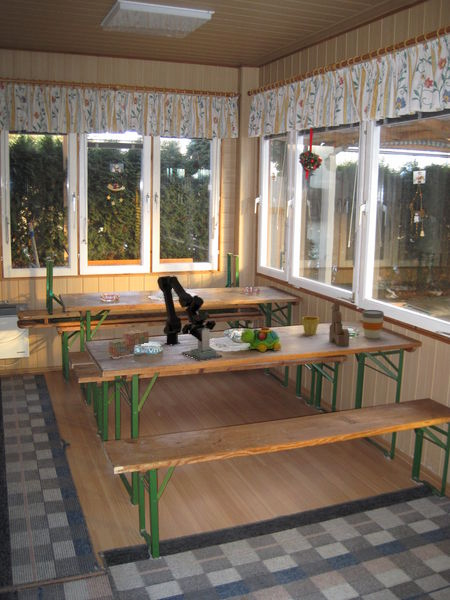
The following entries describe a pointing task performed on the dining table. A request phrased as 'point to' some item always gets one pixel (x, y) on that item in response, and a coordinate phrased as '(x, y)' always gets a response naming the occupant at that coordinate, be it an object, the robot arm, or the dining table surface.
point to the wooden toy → (338, 327)
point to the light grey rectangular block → (204, 340)
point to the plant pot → (310, 324)
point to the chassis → (202, 354)
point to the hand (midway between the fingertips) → (205, 340)
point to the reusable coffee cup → (372, 323)
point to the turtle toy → (261, 339)
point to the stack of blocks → (127, 343)
